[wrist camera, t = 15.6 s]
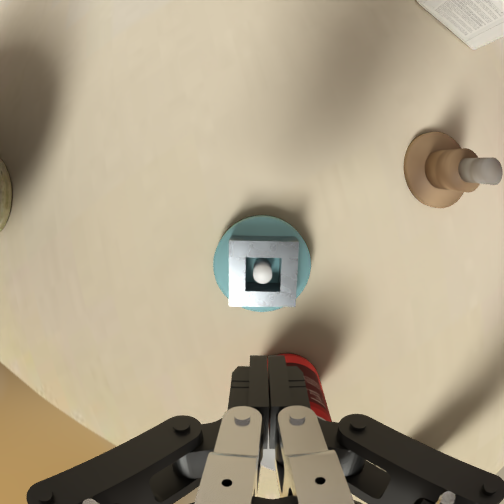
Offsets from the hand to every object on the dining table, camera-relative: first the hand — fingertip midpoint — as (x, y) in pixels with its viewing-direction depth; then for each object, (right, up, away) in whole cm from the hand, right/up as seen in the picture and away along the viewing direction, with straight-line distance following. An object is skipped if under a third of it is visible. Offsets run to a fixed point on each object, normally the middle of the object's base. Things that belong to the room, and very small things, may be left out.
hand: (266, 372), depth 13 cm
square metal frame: (0, +4, +16) cm, 17 cm away
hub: (0, +4, +18) cm, 19 cm away
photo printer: (+23, +33, +11) cm, 42 cm away
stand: (+19, +14, +16) cm, 28 cm away
